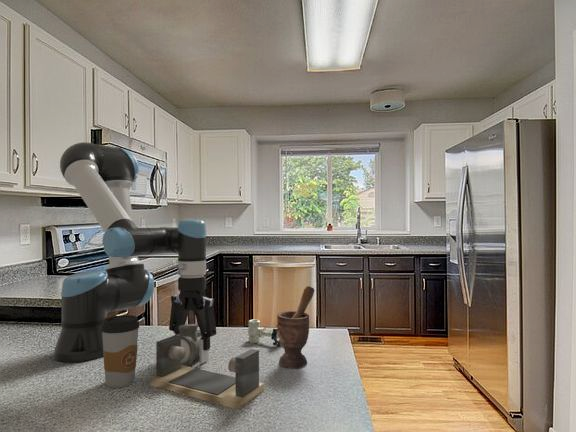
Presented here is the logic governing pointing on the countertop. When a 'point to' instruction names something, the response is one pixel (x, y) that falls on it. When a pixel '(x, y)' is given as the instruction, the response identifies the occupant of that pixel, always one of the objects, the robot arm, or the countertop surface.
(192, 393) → the shaft bed
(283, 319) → the mortar and pestle
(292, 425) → the countertop surface
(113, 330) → the coffee cup
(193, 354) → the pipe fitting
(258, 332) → the valve
